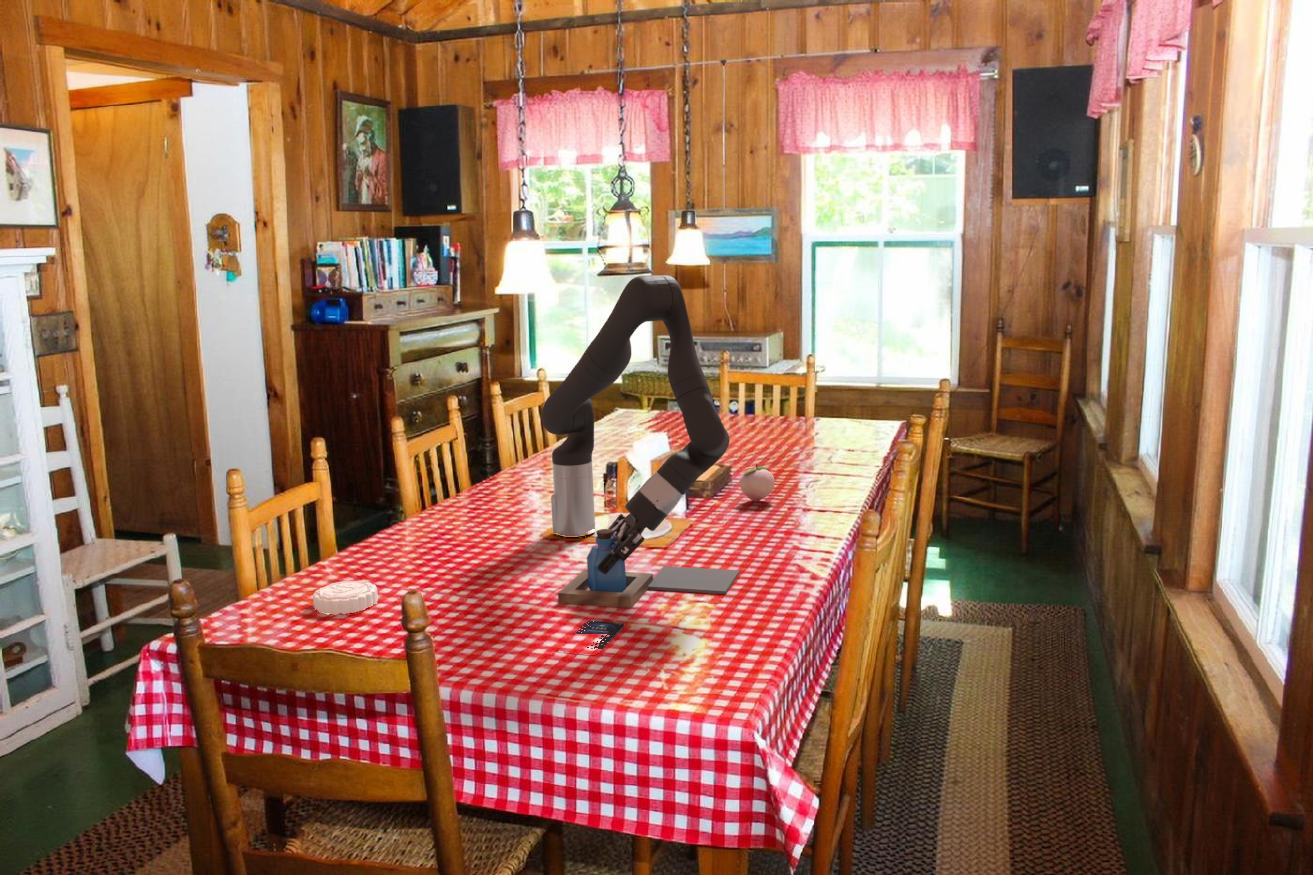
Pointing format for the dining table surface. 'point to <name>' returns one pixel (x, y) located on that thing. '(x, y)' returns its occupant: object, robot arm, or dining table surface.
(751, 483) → the decorative fruit
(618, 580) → the perfume bottle
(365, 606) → the mooncake
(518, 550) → the dining table surface
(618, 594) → the block
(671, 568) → the rubber mat
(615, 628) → the smartphone
